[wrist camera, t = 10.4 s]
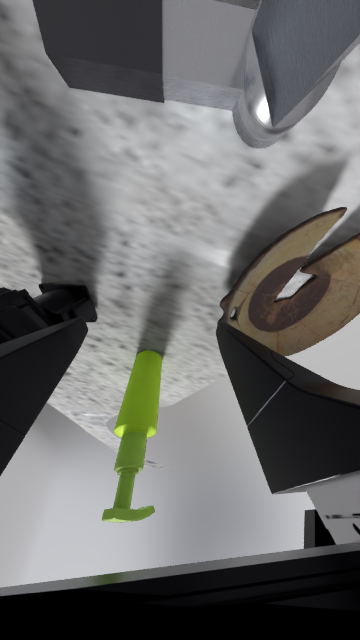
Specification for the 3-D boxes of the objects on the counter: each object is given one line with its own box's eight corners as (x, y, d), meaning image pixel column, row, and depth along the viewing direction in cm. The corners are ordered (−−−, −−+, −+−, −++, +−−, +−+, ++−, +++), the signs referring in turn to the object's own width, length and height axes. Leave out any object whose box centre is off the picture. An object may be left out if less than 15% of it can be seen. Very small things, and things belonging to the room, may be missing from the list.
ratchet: (76, 122, 12) (16, 48, 7) (37, -61, 8) (-139, -451, 4) (287, 152, 14) (347, 108, 9) (334, 12, 10) (476, -185, 5)
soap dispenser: (152, 373, 32) (131, 522, 15) (130, 359, 29) (73, 526, 12) (170, 362, 30) (168, 517, 13) (148, 346, 27) (111, 521, 10)
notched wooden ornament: (261, 180, 15) (331, 135, 8) (412, 263, 21) (519, 275, 15) (192, 330, 26) (199, 361, 19) (304, 356, 32) (338, 385, 26)
